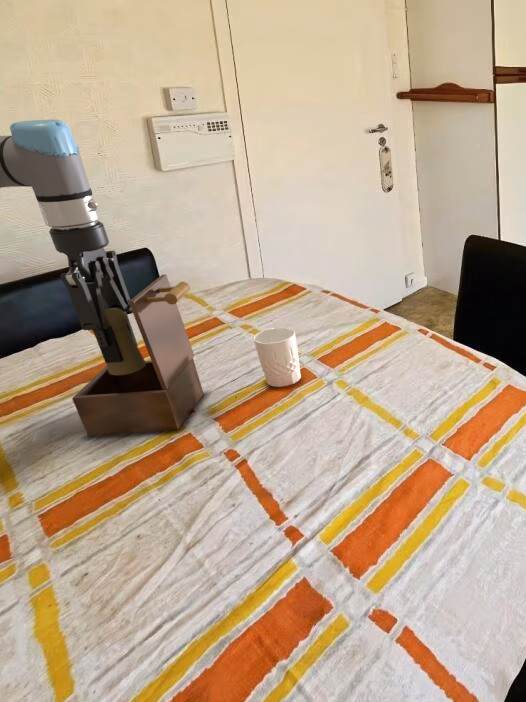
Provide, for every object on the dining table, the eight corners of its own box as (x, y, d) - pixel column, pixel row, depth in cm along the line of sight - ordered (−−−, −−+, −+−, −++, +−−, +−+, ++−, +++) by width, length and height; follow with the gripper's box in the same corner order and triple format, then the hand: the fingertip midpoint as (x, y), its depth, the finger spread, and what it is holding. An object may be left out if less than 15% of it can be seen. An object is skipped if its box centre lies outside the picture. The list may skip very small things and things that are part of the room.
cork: (148, 369, 112) (128, 312, 107) (109, 378, 109) (87, 320, 104) (143, 357, 116) (124, 301, 111) (106, 366, 113) (85, 309, 108)
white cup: (272, 370, 132) (262, 327, 127) (309, 370, 132) (300, 327, 127) (258, 388, 125) (246, 343, 120) (296, 388, 125) (286, 343, 120)
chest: (87, 436, 111) (71, 398, 107) (122, 398, 123) (109, 363, 119) (178, 429, 112) (165, 392, 108) (203, 393, 124) (193, 358, 120)
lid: (128, 301, 100) (165, 298, 100) (161, 274, 112) (194, 271, 112) (162, 390, 108) (196, 386, 108) (190, 356, 120) (221, 353, 120)
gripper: (69, 238, 93) (120, 376, 104) (124, 210, 108) (164, 332, 120) (16, 240, 92) (73, 379, 103) (79, 212, 108) (123, 334, 119)
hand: (122, 353), depth 111 cm, fingers closed on cork, 5 cm apart
